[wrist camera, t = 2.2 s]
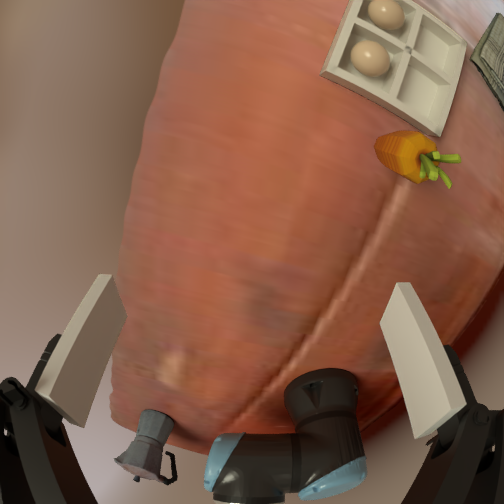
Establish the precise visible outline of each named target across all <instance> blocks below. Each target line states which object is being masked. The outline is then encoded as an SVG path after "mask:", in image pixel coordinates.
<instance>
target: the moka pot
mask: <svg viewBox="0 0 504 504" xmlns="http://www.w3.org/2000/svg"><path fill="white" fill-rule="evenodd" d="M173 427H174V422H173V421H172V420H171V419H170V418H169V417H168V416H166V415H165V414H163V413H160V412H158V411H154V410H144V411H143V412H142V413H141V416H140V420H139V425H138V429H137V434H136V437H135V440H134V441H133V442H131V444H130V446H129V447H128V449H127V450H126V451H125V452H123V453H122V454H121V455H120V456H118V457H117V458H114V461H115V462H116V463H117V464H119V465H120V466H121V467H123V469H124V470H126V471H128V472H130V473H132V474H134V475H136V476H135V477H134V479H133V480H134V481H136V482H139V481H140V477H141V478H145V479H149V480H156V481H158V482H162V483H164V484H166V485H169V484H171V483H173V482H174V481H176V480H177V471H176V464H175V455H174V454H172V453H170V452H168V451H166V453H165V454H166V455H169V456H170V459H171V470H172V476H173V477H172V478H171V479H167V478H166V477H165V476H162V475H160V469H161V461H162V452H163V446H164V445H165V443H166V441H167V439H168V437H169V435H170V433H171V431H172V429H173Z"/></svg>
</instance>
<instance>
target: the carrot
mask: <svg viewBox="0 0 504 504" xmlns="http://www.w3.org/2000/svg"><path fill="white" fill-rule="evenodd" d="M374 149H375V152H376V155H377V157H378V159H379V160H380V161H381V163H382V164H384V165H385V166H386V167H388V168H389V169H391V170H393V171H394V172H396V173H398V174H400V175H401V176H403V177H405V178H407V179H408V180H410V181H412V182H414V183H416V184H419V183H421V182H424V181H426V180H429V179H431V180H437V178H438V174H439V175H440V177H441V178H442V179H443V181H444V182H445V184H446V185H447V187H448V188H451V186H452V182H451V180H450V179H449V177H448V176H447V175H446V174H445V172H444V171H443V170H441V169H440V168H439V167H438V165H439V162H444V163H461V157H460V155H458V154H450V155H440V154H439V152H438V151H437V147H436V144H435V143H434V142H433V141H431V140H430V139H429V138H427V137H426V136H424V135H423V134H421V133H420V132H415V131H396V132H392V133H389V134H386V135H384V136H381V137H378V139H377V140H376V143H375V145H374Z"/></svg>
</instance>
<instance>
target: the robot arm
mask: <svg viewBox="0 0 504 504" xmlns="http://www.w3.org/2000/svg"><path fill="white" fill-rule="evenodd" d="M126 318H127V313H126V311H125V308H124V306H123V303H122V300H121V298H120V295H119V292H118V289H117V287H116V284H115V281H114V278H113V275H106V274H99V276H98V277H97V278H96V280H95V281H94V283H93V284H92V286H91V288H90V289H89V291H88V292H87V294H86V296H85V297H84V299H83V300H82V302H81V303H80V305H79V307H78V309H77V310H76V312H75V314H74V315H73V317H72V319H71V320H70V322H69V324H68V326H67V327H66V329H65V331H64V333H63V334H62V335H60V334H57V335H56V336H55V337H53V338H52V339H51V341H49V343H48V345H47V347H46V349H45V351H44V353H43V354H42V356H41V360H40V361H39V362H38V364H37V366H36V368H35V370H34V372H33V374H32V376H31V378H30V380H29V382H28V384H27V386H26V388H24V386H23V385H21V383H20V382H19V381H18V380H17V379H16V378H13V377H9V378H6V379H5V380H3V381H2V383H1V384H0V504H98V503H97V501H96V499H95V497H94V495H93V493H92V491H91V489H90V487H89V485H88V483H87V481H86V479H85V477H84V475H83V472H82V470H81V468H80V466H79V463H78V461H77V459H76V456H75V454H74V451H73V449H72V446H71V443H70V441H69V438H68V435H67V432H66V429H65V426H64V424H63V423H62V419H63V417H64V418H65V419H66V420H67V421H68V422H69V423H71V424H74V425H77V426H79V427H82V428H84V427H85V423H86V420H87V418H88V415H89V412H90V409H91V406H92V403H93V400H94V397H95V395H96V392H97V389H98V386H99V384H100V381H101V378H102V376H103V373H104V371H105V368H106V365H107V363H108V361H109V358H110V356H111V353H112V351H113V348H114V346H115V344H116V341H117V339H118V337H119V334H120V332H121V330H122V327H123V325H124V323H125V321H126ZM380 326H381V329H382V332H383V334H384V337H385V340H386V343H387V346H388V349H389V352H390V354H391V357H392V361H393V364H394V367H395V370H396V373H397V376H398V379H399V383H400V386H401V389H402V393H403V396H404V400H405V403H406V407H407V410H408V414H409V418H410V422H411V426H412V430H413V434H414V438H415V439H417V438H420V437H424V436H427V435H430V434H431V433H432V432H434V431H435V430H436V429H437V431H438V434H437V435H436V436H435V437H433V438H432V439H430V440H429V441H428V442H427V444H426V445H427V446H428V445H429V444H431V443H432V442H433V444H432V445H431V448H430V451H429V453H428V454H427V457H426V459H425V461H424V463H423V465H422V467H421V469H420V471H419V473H418V475H417V477H416V479H415V480H414V482H413V484H412V486H411V488H410V489H409V491H408V493H407V495H406V496H405V498H404V500H403V501H402V503H401V504H504V409H503V410H488V408H487V407H486V406H485V405H483V404H480V403H477V401H476V399H475V396H474V394H473V391H472V389H471V386H470V384H469V381H468V379H467V376H466V374H465V373H464V370H463V367H462V365H460V360H459V358H458V356H457V354H456V352H455V351H454V350H453V349H452V348H451V347H450V346H449V345H444V346H443V345H442V343H441V341H440V339H439V337H438V335H437V333H436V331H435V329H434V327H433V324H432V323H431V321H430V319H429V317H428V315H427V313H426V311H425V309H424V307H423V305H422V303H421V301H420V300H419V298H418V296H417V294H416V292H415V291H414V289H413V287H412V285H411V283H410V282H401V283H396V285H395V288H394V290H393V293H392V295H391V298H390V300H389V303H388V305H387V307H386V310H385V312H384V314H383V317H382V319H381V321H380ZM357 400H358V385H357V381H356V378H355V377H354V376H353V375H352V374H351V373H350V372H347V371H345V370H341V369H321V370H316V371H312V372H309V373H306V374H304V375H301V376H299V377H298V378H296V379H294V380H293V381H292V382H291V383H290V384H289V385H288V386H287V387H286V389H285V391H284V403H285V407H286V409H287V410H288V413H289V415H290V417H291V419H292V421H293V423H294V425H295V432H296V433H291V434H289V433H287V434H246V432H243V433H224V434H221V435H219V436H218V437H217V438H216V439H215V441H214V442H213V445H212V447H211V450H210V453H209V456H208V460H207V465H206V469H205V476H204V478H205V480H204V487H205V489H206V490H208V491H210V492H214V494H213V495H214V496H213V501H214V502H215V503H216V504H284V503H285V493H298V496H299V497H300V499H301V500H316V499H321V498H326V497H330V496H333V495H337V494H340V493H343V492H345V491H347V490H350V489H352V488H354V487H356V486H357V485H359V484H361V483H362V482H363V481H364V480H365V478H366V476H367V467H366V456H365V453H364V449H363V444H362V439H361V435H360V431H359V426H358V423H357V418H356V408H357ZM4 429H5V430H7V435H4ZM494 445H495V451H494V452H493V451H492V446H494Z"/></svg>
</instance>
